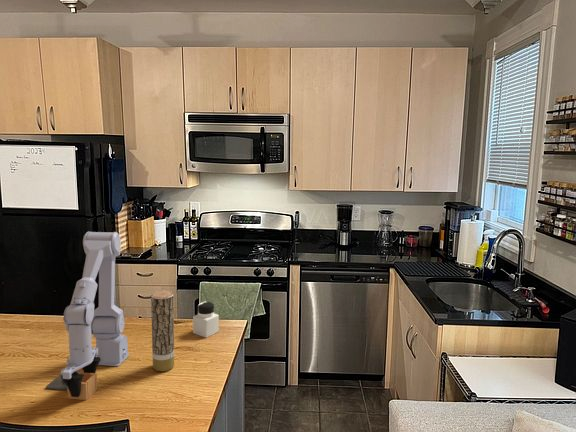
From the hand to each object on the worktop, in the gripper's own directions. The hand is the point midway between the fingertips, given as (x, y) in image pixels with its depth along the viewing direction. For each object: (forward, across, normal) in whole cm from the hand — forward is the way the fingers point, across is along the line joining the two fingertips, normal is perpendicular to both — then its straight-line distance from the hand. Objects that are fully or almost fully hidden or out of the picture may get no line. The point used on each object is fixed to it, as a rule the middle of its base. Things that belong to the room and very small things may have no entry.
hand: (82, 389), depth 122 cm
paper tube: (+2, -18, +17) cm, 25 cm away
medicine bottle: (+2, -46, +23) cm, 51 cm away
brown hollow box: (+1, 0, 0) cm, 1 cm away
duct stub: (+1, -5, -8) cm, 10 cm away
